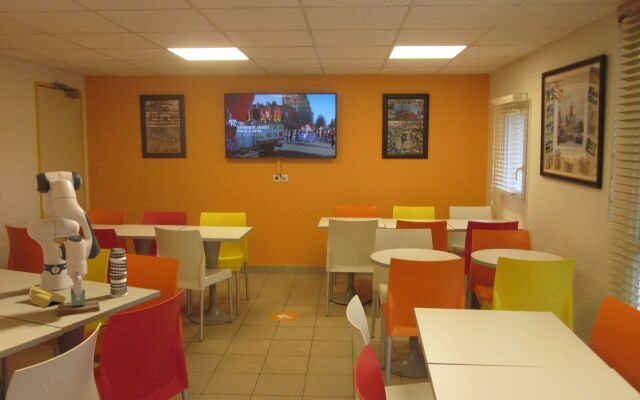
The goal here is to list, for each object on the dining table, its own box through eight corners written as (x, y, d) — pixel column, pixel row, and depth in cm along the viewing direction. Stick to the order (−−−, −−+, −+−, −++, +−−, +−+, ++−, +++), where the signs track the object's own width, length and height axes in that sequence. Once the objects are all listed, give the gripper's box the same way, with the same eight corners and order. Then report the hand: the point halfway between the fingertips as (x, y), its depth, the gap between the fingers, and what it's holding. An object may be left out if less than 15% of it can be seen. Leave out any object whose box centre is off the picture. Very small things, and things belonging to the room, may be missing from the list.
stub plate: (57, 308, 245) (57, 294, 244) (97, 303, 253) (97, 289, 252) (57, 316, 233) (56, 301, 233) (99, 310, 242) (99, 296, 241)
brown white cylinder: (123, 291, 275) (122, 246, 273) (131, 294, 269) (129, 248, 266) (106, 294, 269) (105, 248, 266) (114, 298, 262) (112, 251, 260)
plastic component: (68, 297, 255) (51, 293, 247) (62, 311, 253) (44, 308, 245) (45, 289, 265) (28, 284, 257) (39, 302, 263) (22, 298, 255)
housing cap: (71, 302, 244) (70, 288, 244) (84, 301, 247) (84, 287, 246) (71, 306, 239) (70, 291, 238) (85, 304, 242) (84, 290, 241)
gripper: (85, 274, 234) (86, 303, 235) (83, 265, 252) (84, 292, 253) (69, 275, 231) (71, 305, 232) (69, 266, 249) (70, 293, 250)
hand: (78, 298), depth 243 cm, fingers closed on housing cap, 6 cm apart
